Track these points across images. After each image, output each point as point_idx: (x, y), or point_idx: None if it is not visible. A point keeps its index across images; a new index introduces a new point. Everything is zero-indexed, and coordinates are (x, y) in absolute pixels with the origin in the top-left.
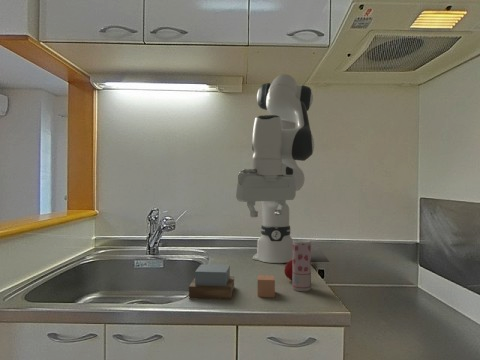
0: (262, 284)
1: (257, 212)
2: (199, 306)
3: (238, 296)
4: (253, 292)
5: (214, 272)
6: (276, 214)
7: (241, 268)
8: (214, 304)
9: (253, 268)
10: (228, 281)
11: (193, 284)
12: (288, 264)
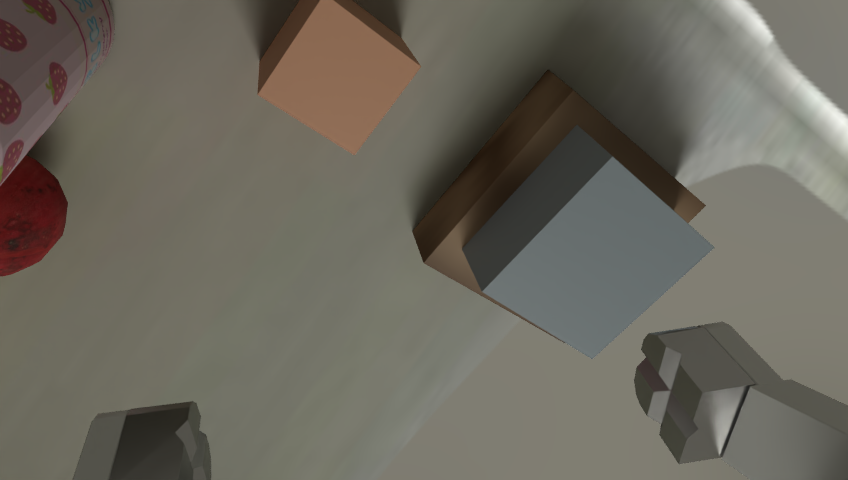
0: (390, 38)
1: (699, 373)
2: (715, 59)
3: (485, 93)
4: None
5: (652, 192)
6: (203, 446)
7: None
8: (651, 47)
9: None
10: (509, 195)
11: None
12: (24, 233)
